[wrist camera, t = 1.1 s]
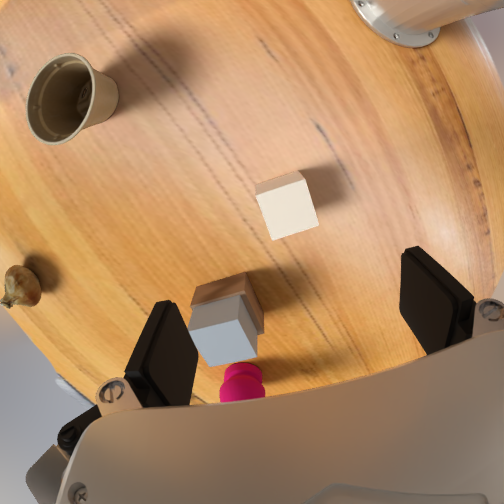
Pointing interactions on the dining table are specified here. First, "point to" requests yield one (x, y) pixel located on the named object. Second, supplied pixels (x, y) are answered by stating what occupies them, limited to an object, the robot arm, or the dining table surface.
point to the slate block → (223, 331)
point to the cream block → (286, 205)
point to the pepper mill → (242, 383)
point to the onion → (21, 287)
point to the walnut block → (232, 288)
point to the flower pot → (68, 99)
